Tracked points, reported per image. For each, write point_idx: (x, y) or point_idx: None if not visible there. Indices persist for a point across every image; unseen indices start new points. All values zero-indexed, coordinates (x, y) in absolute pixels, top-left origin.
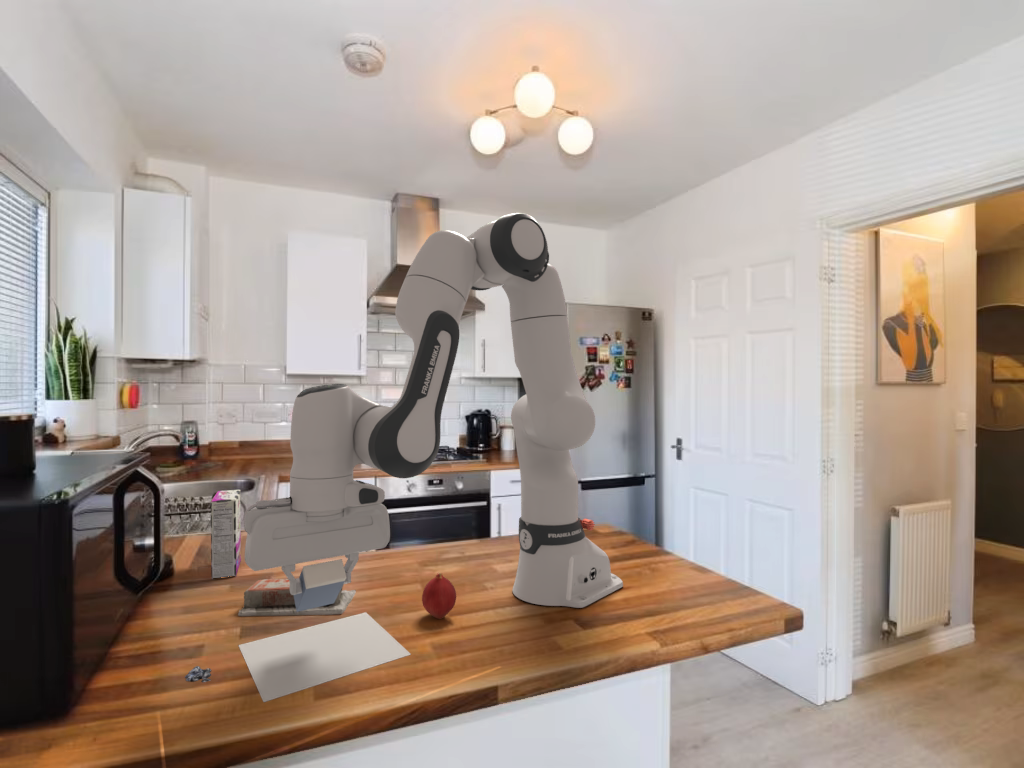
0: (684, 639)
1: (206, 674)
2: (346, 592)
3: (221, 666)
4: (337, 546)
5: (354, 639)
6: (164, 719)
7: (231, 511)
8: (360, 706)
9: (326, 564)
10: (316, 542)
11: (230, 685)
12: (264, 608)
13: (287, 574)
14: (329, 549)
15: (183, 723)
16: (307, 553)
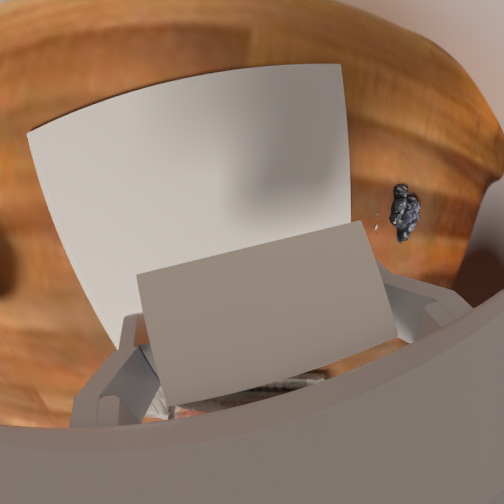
0: None
1: (403, 204)
2: (161, 413)
3: (376, 236)
4: (216, 483)
5: (137, 246)
6: (440, 118)
7: None
8: None
9: (268, 365)
10: (432, 468)
11: (375, 164)
12: (293, 387)
13: (441, 290)
14: (288, 452)
15: (426, 92)
16: (446, 377)
